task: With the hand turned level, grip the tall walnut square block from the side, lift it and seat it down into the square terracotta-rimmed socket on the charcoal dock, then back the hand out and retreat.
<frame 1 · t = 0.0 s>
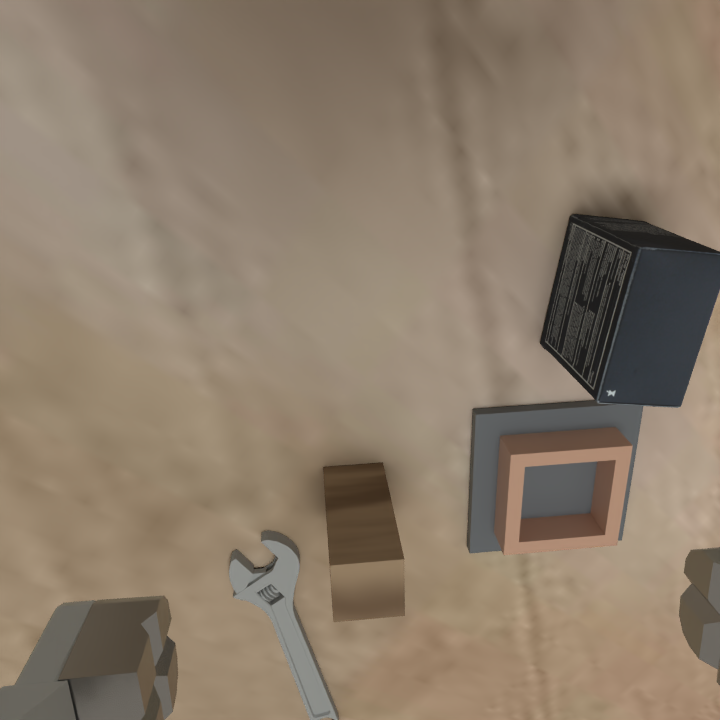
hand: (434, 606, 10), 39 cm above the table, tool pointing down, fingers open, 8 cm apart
small box: (591, 284, 50), on the table
dock: (548, 474, 57), on the table
walnut block: (354, 489, 56), on the table
adjustable wrench: (286, 632, 62), on the table
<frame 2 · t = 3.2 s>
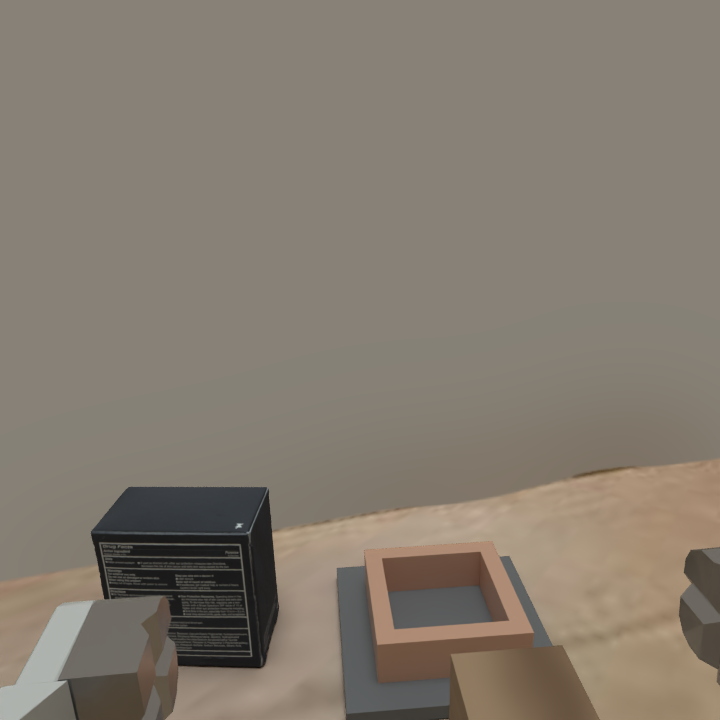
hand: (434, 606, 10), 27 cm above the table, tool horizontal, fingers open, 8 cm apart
small box: (201, 635, 47), on the table
dock: (440, 634, 46), on the table
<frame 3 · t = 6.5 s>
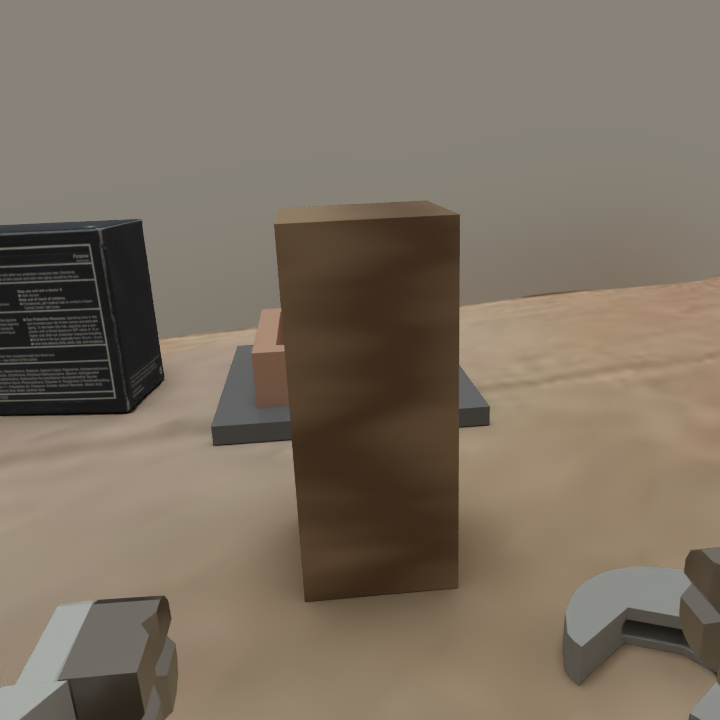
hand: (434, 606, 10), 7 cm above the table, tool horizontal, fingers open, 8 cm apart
small box: (69, 399, 41), on the table
dock: (344, 387, 40), on the table
walnut block: (374, 550, 24), on the table
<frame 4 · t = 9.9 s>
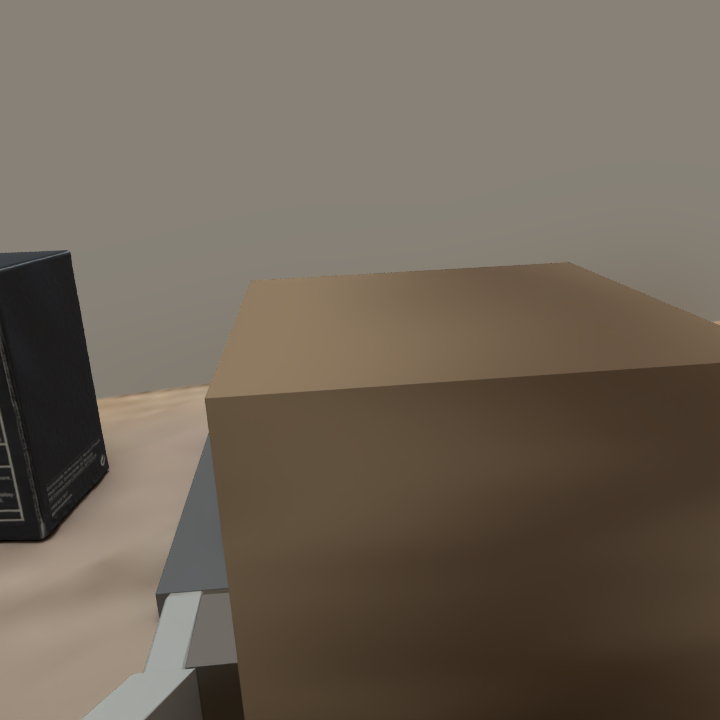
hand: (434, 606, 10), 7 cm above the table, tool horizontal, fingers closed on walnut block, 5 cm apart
dock: (362, 492, 28), on the table
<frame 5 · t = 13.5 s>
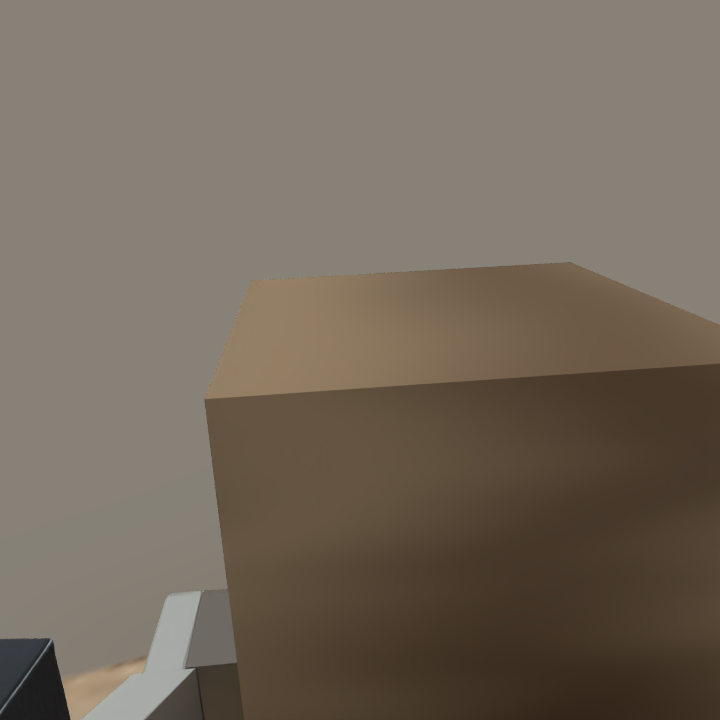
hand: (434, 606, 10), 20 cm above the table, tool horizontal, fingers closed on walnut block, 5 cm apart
when the fingers open (9 cm above the table, at t = 17.3 s): walnut block drops 1 cm, resting on dock.
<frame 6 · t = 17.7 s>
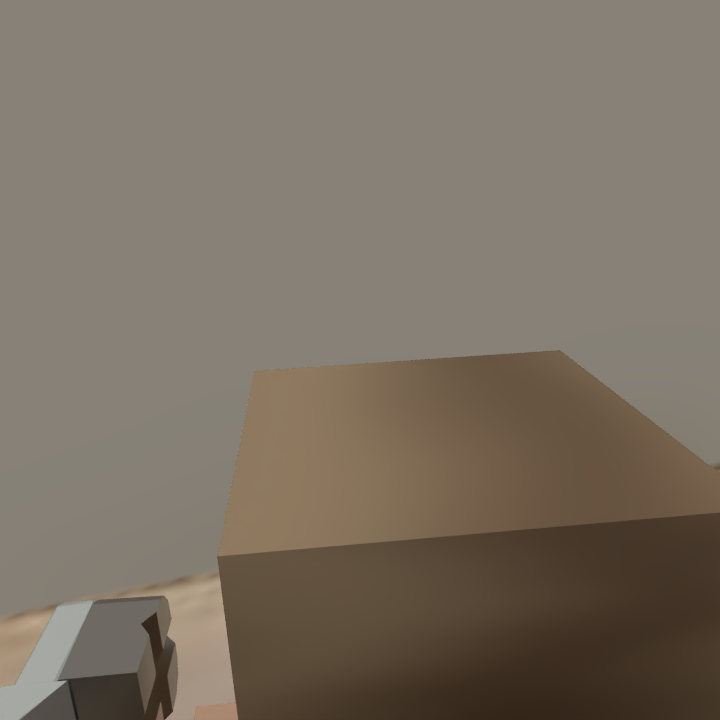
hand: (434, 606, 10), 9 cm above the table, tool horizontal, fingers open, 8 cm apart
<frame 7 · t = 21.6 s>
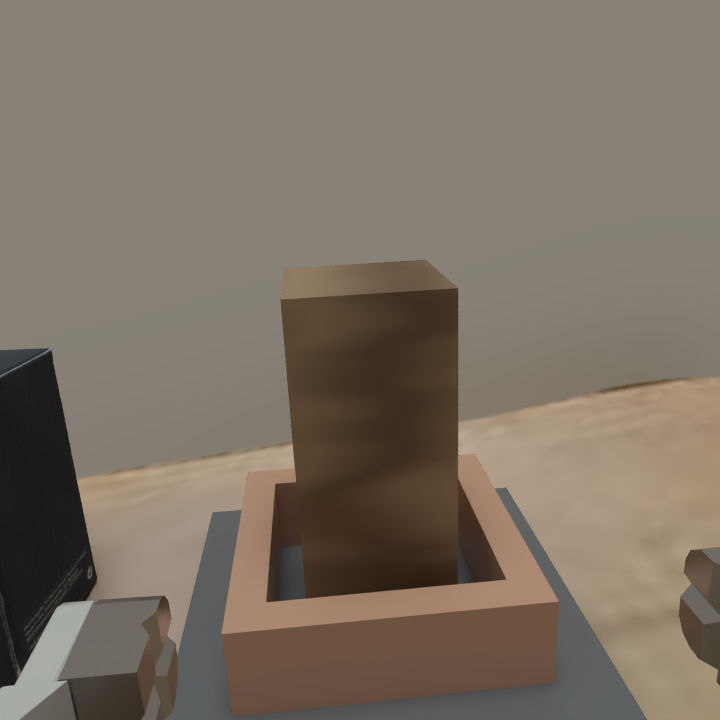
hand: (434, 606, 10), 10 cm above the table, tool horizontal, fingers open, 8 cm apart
dock: (379, 617, 25), on the table
walnut block: (376, 595, 24), point 1 cm above the table, touching dock
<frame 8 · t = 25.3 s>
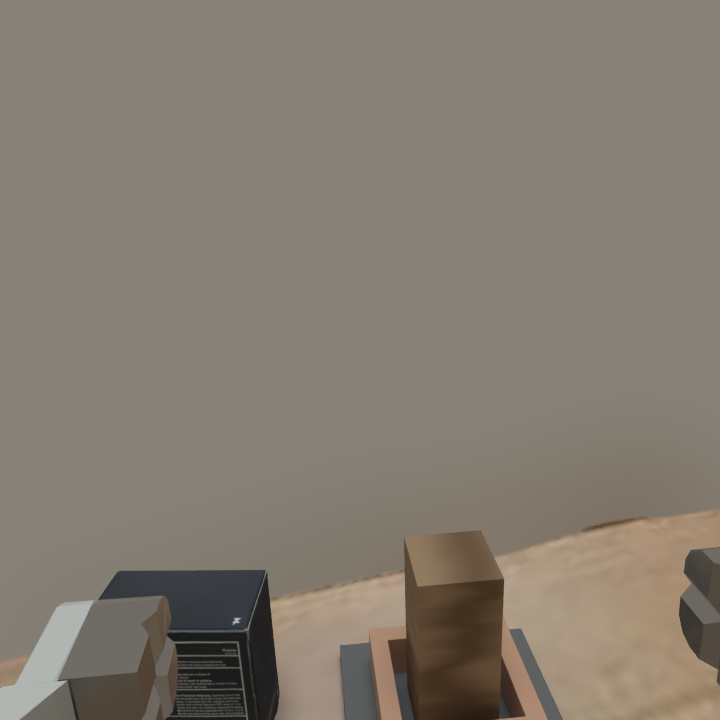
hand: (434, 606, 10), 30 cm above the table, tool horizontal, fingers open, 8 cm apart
walnut block: (450, 711, 43), point 1 cm above the table, touching dock
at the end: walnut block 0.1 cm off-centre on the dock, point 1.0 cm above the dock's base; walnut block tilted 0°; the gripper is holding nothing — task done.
